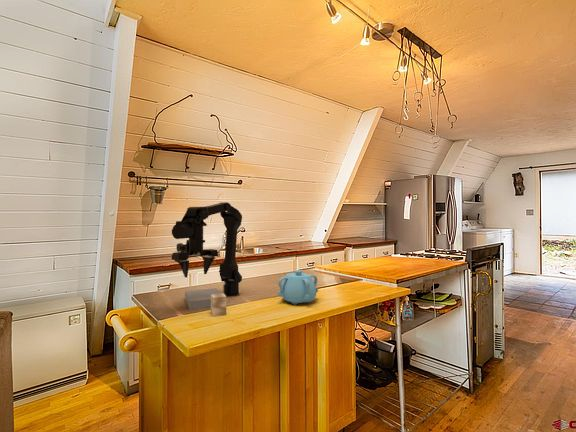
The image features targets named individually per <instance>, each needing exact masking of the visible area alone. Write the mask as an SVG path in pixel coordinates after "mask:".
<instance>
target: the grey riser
mask: <svg viewBox="0 0 576 432" xmlns="http://www.w3.org/2000/svg"><path fill="white" fill-rule="evenodd" d="M212 294H222V293H221V292H220V291H219V289H218V288H214V287H213V288H203V289H202V288H201V289H193V290H191V289H190V290H185V291H184V300H185V302H186V305H187V308H188V309H189V310H190V311H192V310H201V309H211V295H212Z"/></svg>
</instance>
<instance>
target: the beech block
mask: <svg viewBox="0 0 576 432" xmlns="http://www.w3.org/2000/svg"><path fill="white" fill-rule="evenodd" d="M210 313H211V316H212V317H219V316H227V296H226V295H225V294H224V293H223V292H222V293H221V294H212V295H211V308H210Z"/></svg>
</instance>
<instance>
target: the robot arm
mask: <svg viewBox="0 0 576 432" xmlns="http://www.w3.org/2000/svg"><path fill="white" fill-rule="evenodd" d="M219 213H220V217H221V218H222V219H223V225H224V227H225V228H226V233H225V234H226V237H225V250H224V251H225V252H224V260H223V261H222V262H221V263H220V264H219V269H218V270H219V271H218V272H219V278H220V281H221V282H224V284H222V290H223V292H222V294H223V293H224V294H225V295H226V297H231V296H232V297H233V296H240V293H239V289H240V288H239V286H240V284H239V283H241V282H242V281H243V275H242V274H241V273H240V272H239V265H238V263H237V261H236V256H237V254H236V252H237V242H238V241H237V240H238V239H237V238H238V230H239V228H240V226H241V225H242V219H243V214H242V213H241V212H240V211H239V210H238V209H237V208H235V207H234V206H233V205H232V204H230V203H229V202H226V201H225V202H222V201H221V202H218V203H214V204H211V205H210V204H209V205H206V206H205V205H204V206H188V207H187V208H186V212H185V214H184V215H183V216H182V219H181V220H176V221H175V224H174V225H173V226H172V228H171V235H172V237H173V238H174V239H176V240H182V239H186V242H185V244H183V243H182V242H180V243H177V244H176V251H175V252H173V253H172V255H171V260H172V261H174V262H175V263H178V264H179V266H180V269H181V271H182V273H183V276H184V278H188V275H189V265H190V260H189V258H197V257H201V258H202V260H203V275H207V273H208V272H209V269H210V267H211V265H212V264H213V262H214V260H215V259H217V258H216V257H219V251H218V250H217V249H214V248H207V249H204V243H206V239H204V227H207V226H208V224H207V223H206V222H205V221H206V219H208V218H209V217H210V216H213V215H216V214H219ZM204 220H205V221H204Z"/></svg>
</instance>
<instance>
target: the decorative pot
mask: <svg viewBox="0 0 576 432" xmlns="http://www.w3.org/2000/svg"><path fill="white" fill-rule="evenodd" d="M313 278H314V280H313ZM317 285H318V277H317V276H316V275H314V274H309V273H305V272H303V270H302V269H301V270H300V269H296V270H294V272H290V273H286V275H285V276H282V277H281V278H279V280H278V287H279V290H278V292H277V296H278V297H280V298H283V299H284V301H287V302H288V303H291V305H298V304H302V303H305V304H306V303H307V304H311V303H312V302H313V301H314V300H315V299H316V297H317V293H318V292H319V289H318V287H317Z"/></svg>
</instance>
